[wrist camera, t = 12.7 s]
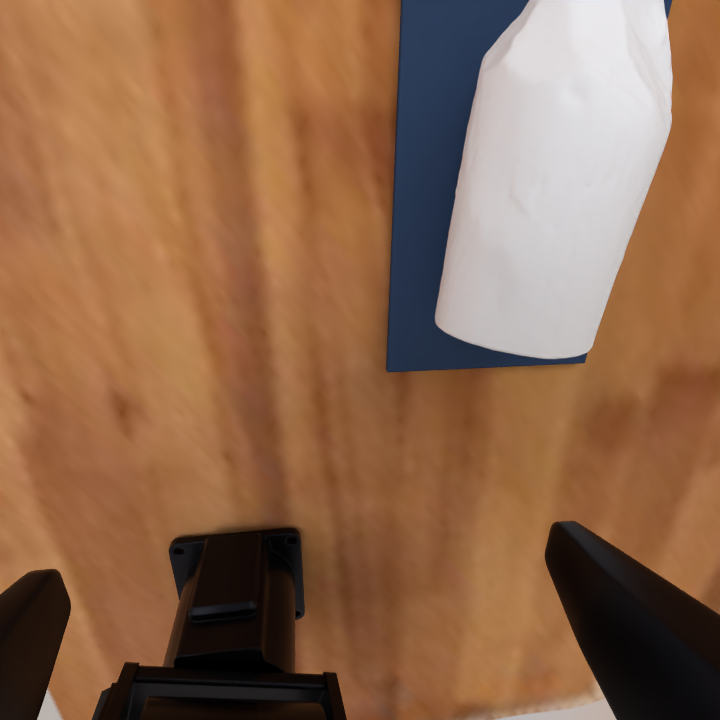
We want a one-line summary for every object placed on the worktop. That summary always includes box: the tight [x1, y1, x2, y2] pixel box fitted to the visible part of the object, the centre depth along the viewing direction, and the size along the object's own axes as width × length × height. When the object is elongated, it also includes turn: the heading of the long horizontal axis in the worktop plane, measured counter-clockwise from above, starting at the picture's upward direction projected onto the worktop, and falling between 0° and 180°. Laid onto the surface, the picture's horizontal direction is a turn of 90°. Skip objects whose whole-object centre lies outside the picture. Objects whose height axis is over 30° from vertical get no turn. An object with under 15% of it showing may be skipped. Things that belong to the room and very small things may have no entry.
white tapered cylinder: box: [435, 0, 673, 359], centre depth 14 cm, size 6×12×6 cm, turn 174°
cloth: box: [386, 0, 672, 372], centre depth 17 cm, size 18×10×1 cm, turn 179°
